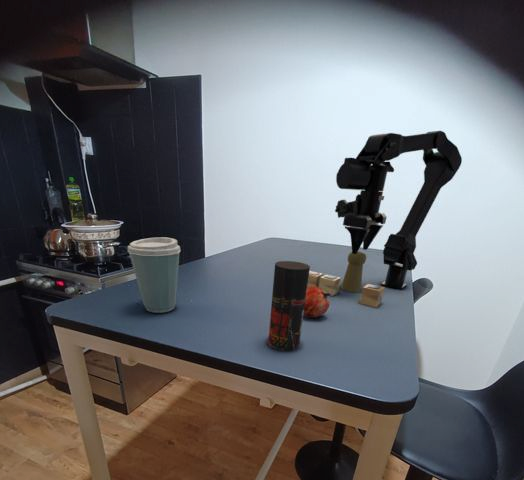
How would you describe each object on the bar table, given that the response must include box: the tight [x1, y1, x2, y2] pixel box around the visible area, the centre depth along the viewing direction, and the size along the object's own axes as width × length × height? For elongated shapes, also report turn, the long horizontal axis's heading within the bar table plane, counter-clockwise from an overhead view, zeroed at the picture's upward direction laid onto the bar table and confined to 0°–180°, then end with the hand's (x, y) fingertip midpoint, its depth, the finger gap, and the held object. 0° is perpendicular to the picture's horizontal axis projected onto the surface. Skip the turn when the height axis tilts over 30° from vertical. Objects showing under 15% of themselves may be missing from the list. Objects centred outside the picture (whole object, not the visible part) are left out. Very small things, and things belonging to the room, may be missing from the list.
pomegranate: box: [303, 286, 333, 319], centre depth 73 cm, size 7×7×10 cm
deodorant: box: [267, 260, 311, 352], centre depth 57 cm, size 6×6×15 cm
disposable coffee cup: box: [127, 236, 182, 314], centre depth 69 cm, size 11×11×15 cm
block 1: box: [307, 270, 324, 287], centre depth 93 cm, size 4×4×5 cm
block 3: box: [359, 283, 386, 308], centre depth 85 cm, size 4×4×5 cm
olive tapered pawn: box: [340, 251, 367, 293], centre depth 94 cm, size 6×6×11 cm
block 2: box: [318, 274, 342, 297], centre depth 91 cm, size 4×4×5 cm
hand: (359, 251), depth 91 cm, fingers open, 9 cm apart
